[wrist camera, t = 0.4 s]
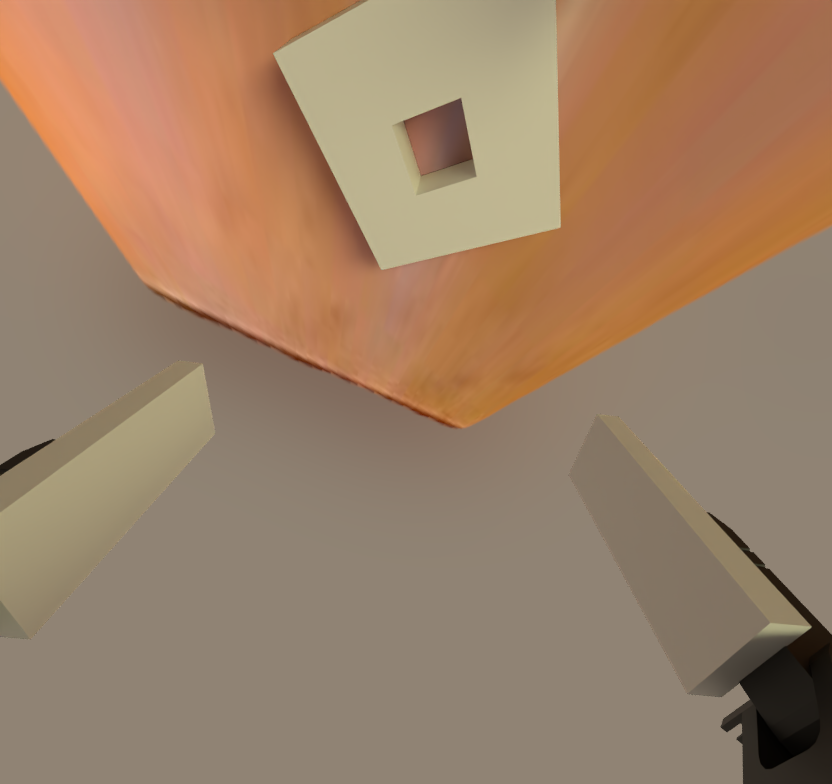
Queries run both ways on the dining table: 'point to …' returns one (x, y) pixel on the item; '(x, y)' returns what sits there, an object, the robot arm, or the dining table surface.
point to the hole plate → (425, 90)
